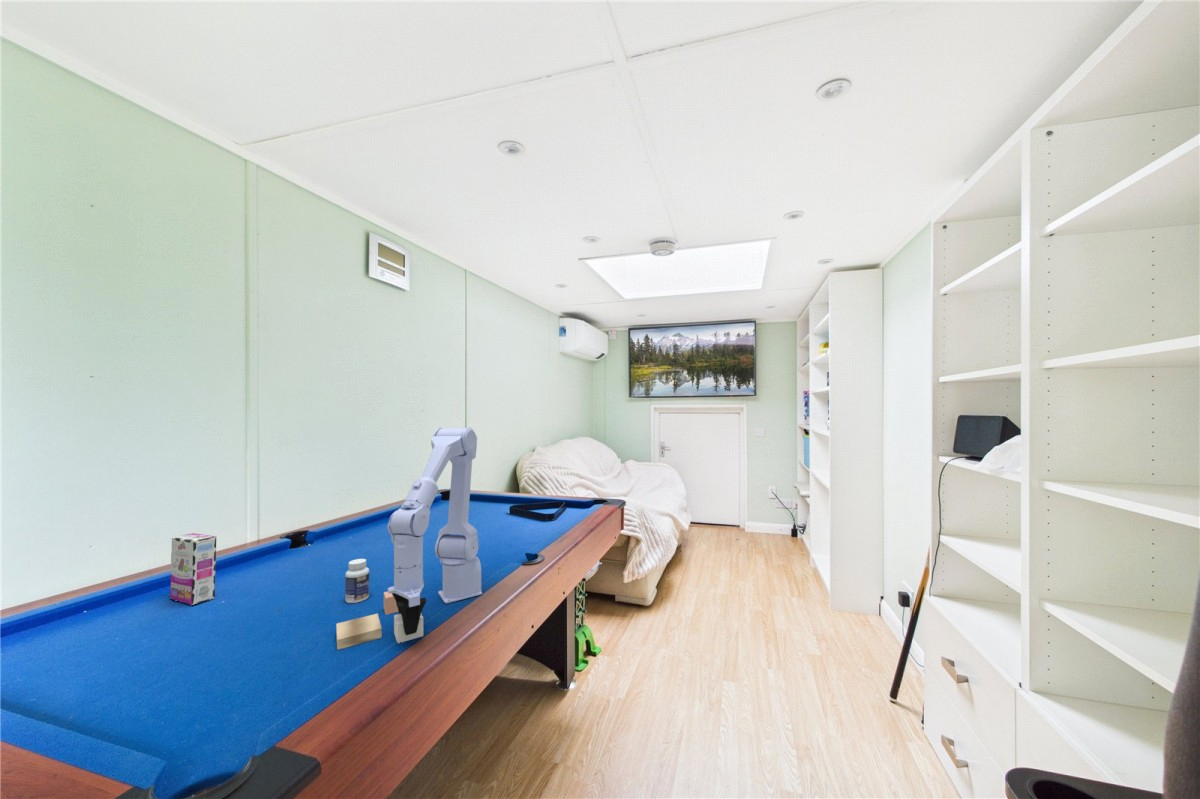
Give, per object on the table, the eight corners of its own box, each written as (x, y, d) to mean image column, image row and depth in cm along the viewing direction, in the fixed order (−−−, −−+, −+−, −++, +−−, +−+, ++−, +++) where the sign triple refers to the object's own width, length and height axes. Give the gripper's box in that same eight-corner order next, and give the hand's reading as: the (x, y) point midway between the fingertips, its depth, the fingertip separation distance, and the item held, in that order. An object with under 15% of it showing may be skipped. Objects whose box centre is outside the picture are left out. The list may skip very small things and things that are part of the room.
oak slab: (377, 622, 95) (377, 613, 95) (381, 637, 88) (381, 628, 88) (336, 633, 90) (336, 623, 90) (337, 649, 84) (337, 639, 84)
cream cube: (418, 626, 93) (418, 608, 93) (423, 636, 89) (423, 617, 89) (394, 633, 90) (394, 615, 90) (397, 644, 86) (397, 624, 86)
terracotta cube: (401, 604, 104) (401, 588, 104) (403, 610, 101) (403, 593, 101) (383, 608, 102) (383, 592, 102) (385, 615, 98) (385, 598, 99)
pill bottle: (358, 604, 104) (358, 565, 104) (340, 603, 105) (340, 564, 106) (373, 595, 109) (374, 558, 110) (356, 593, 110) (356, 557, 111)
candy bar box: (216, 598, 109) (217, 535, 110) (192, 606, 104) (193, 541, 105) (193, 592, 113) (194, 532, 114) (168, 600, 109) (170, 537, 109)
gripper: (384, 558, 94) (383, 619, 93) (392, 579, 82) (392, 649, 81) (417, 552, 98) (417, 610, 97) (430, 571, 86) (430, 637, 85)
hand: (408, 627), depth 89 cm, fingers closed on cream cube, 5 cm apart
